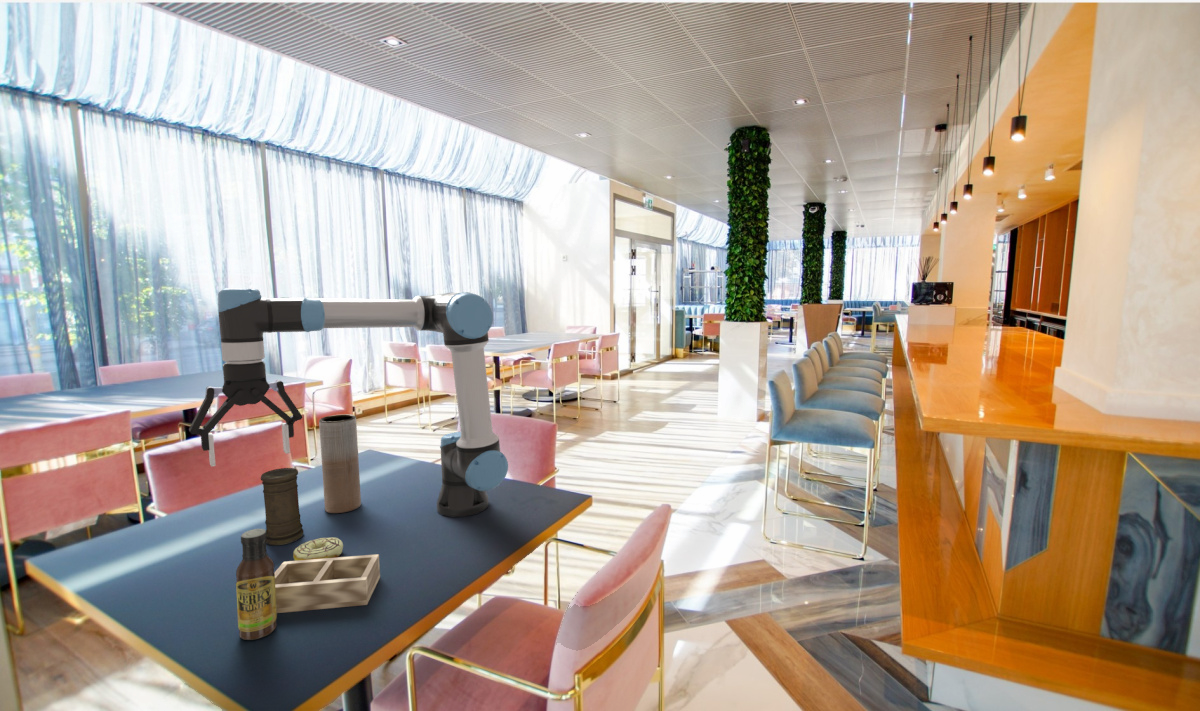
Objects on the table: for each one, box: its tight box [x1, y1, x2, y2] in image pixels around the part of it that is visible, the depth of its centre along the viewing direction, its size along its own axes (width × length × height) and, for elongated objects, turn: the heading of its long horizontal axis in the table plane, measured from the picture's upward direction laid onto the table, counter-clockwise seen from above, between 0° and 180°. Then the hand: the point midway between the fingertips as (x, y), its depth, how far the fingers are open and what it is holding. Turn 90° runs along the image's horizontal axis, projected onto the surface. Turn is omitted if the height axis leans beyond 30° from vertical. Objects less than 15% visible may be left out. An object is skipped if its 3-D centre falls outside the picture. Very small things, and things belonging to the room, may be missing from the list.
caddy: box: [274, 553, 381, 614], centre depth 114 cm, size 20×11×6 cm, turn 99°
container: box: [260, 467, 305, 546], centre depth 140 cm, size 9×9×18 cm
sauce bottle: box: [235, 528, 278, 641], centre depth 100 cm, size 6×6×20 cm
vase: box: [318, 413, 362, 514], centre depth 159 cm, size 10×10×28 cm
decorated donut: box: [292, 536, 344, 561], centre depth 130 cm, size 10×11×4 cm
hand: (251, 458), depth 115 cm, fingers open, 13 cm apart
